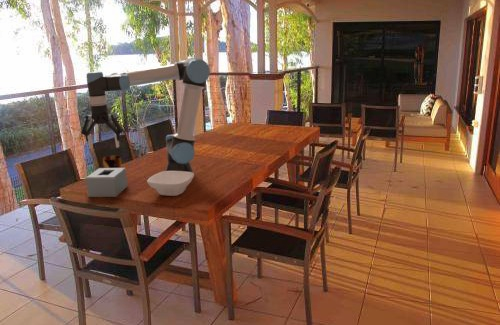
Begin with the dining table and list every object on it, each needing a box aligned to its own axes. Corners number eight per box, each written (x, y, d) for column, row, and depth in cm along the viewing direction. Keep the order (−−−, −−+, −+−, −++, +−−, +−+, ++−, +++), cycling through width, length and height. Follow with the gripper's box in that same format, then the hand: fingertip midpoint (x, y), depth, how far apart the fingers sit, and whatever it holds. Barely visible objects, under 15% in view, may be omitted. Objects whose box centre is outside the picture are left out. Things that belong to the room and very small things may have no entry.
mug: (117, 183, 235) (115, 161, 232) (101, 179, 243) (98, 158, 240) (131, 178, 243) (129, 157, 240) (115, 175, 251) (113, 154, 248)
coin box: (127, 186, 230) (125, 167, 227) (116, 196, 215) (113, 177, 212) (101, 186, 231) (99, 168, 229) (88, 196, 216) (85, 177, 213)
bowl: (163, 185, 229) (162, 169, 227) (200, 188, 223) (199, 171, 221) (143, 199, 210) (141, 182, 208) (182, 202, 204) (181, 184, 202)
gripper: (126, 102, 215) (131, 144, 220) (77, 104, 217) (83, 146, 222) (121, 104, 207) (126, 148, 213) (70, 106, 209) (76, 149, 215)
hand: (104, 147), depth 218 cm, fingers open, 13 cm apart
